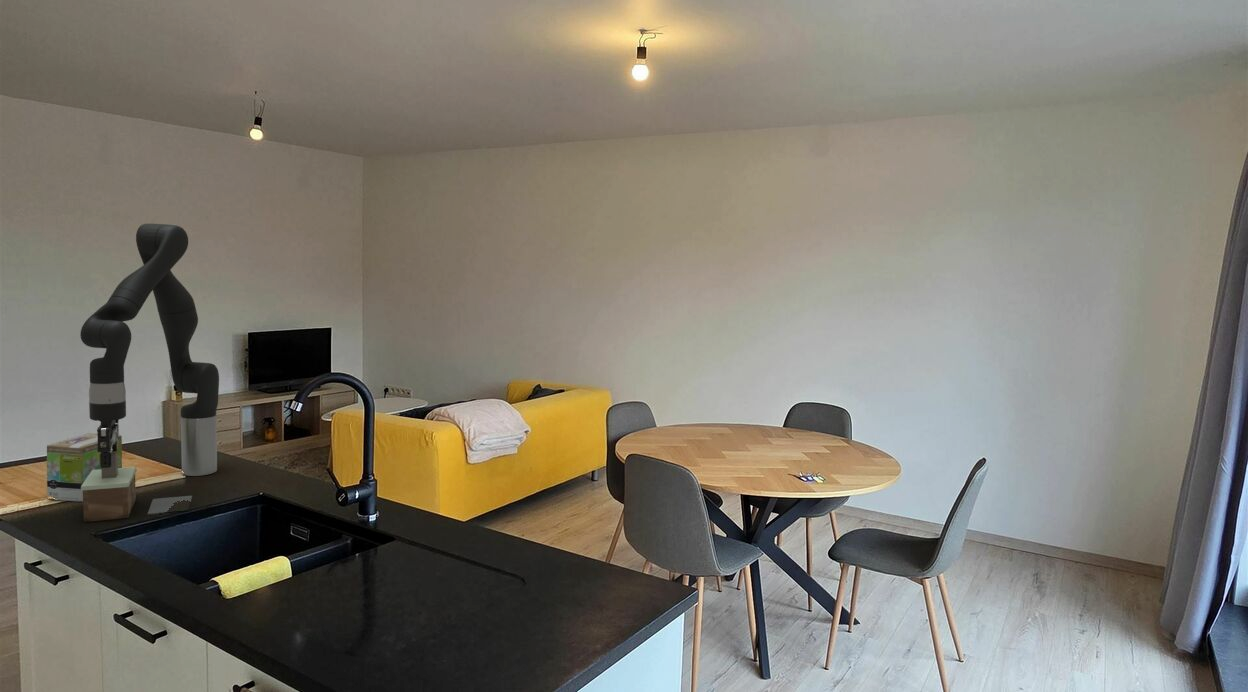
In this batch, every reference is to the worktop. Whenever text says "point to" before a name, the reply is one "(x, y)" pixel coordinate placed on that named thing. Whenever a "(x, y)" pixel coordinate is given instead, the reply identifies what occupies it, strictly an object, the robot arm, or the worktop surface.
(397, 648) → the worktop surface
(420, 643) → the worktop surface
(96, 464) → the tea box
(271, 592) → the worktop surface
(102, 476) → the lid
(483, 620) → the worktop surface
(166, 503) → the mat
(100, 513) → the crate
